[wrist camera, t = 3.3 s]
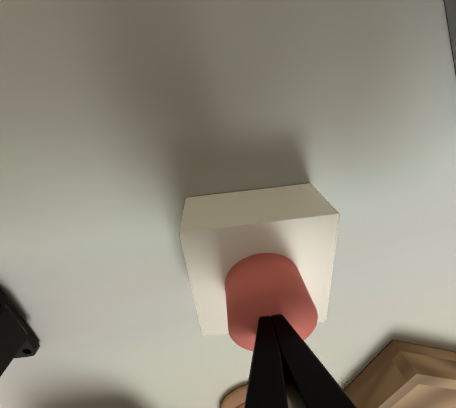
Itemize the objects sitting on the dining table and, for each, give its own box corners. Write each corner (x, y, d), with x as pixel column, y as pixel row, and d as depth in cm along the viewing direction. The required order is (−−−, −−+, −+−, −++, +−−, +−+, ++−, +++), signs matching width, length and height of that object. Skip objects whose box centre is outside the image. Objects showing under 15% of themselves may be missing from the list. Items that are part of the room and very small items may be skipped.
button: (228, 312, 11) (232, 356, 9) (220, 257, 10) (223, 297, 8) (298, 304, 11) (314, 346, 9) (301, 248, 10) (321, 285, 8)
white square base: (203, 289, 14) (202, 336, 12) (186, 197, 12) (179, 232, 9) (307, 276, 15) (329, 321, 12) (313, 182, 12) (343, 213, 9)
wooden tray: (327, 407, 22) (339, 441, 20) (393, 340, 18) (416, 373, 16) (443, 420, 25) (464, 451, 23) (522, 365, 21) (556, 396, 19)
